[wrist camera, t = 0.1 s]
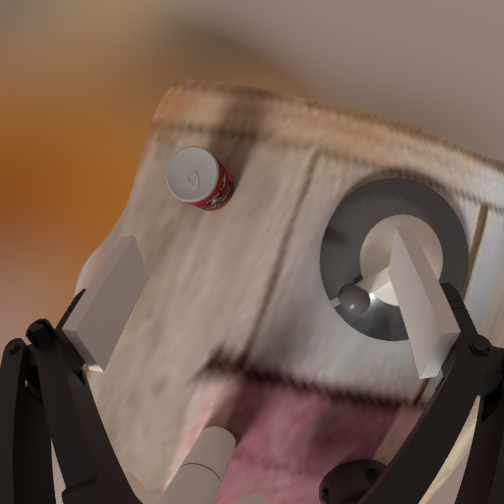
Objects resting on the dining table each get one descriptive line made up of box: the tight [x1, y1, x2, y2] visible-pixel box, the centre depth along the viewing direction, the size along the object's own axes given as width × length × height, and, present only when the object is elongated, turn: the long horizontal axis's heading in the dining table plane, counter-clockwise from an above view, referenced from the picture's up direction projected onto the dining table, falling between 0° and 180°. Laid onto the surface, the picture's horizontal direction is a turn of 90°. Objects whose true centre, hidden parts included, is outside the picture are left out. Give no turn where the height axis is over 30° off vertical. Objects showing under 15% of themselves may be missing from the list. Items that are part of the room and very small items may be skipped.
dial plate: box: [320, 178, 468, 341], centre depth 47 cm, size 26×26×2 cm
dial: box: [338, 215, 443, 315], centre depth 43 cm, size 19×14×8 cm
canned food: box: [166, 146, 234, 211], centre depth 47 cm, size 8×8×11 cm
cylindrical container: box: [157, 426, 236, 504], centre depth 41 cm, size 7×7×25 cm
